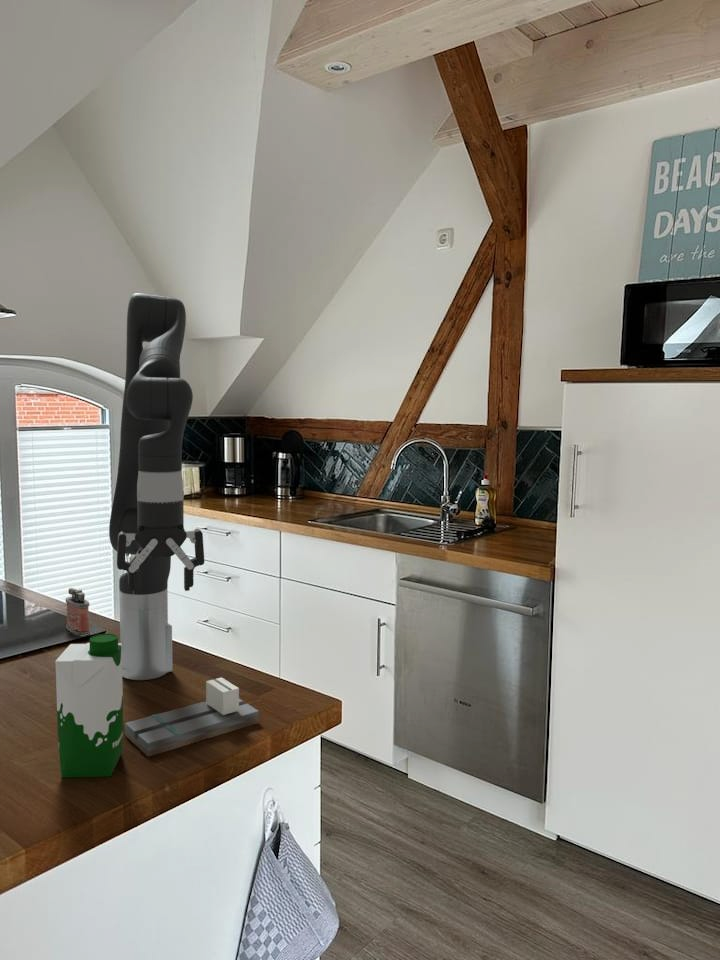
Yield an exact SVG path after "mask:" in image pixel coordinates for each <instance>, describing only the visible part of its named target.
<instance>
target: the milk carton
mask: <svg viewBox="0 0 720 960" xmlns="http://www.w3.org/2000/svg"><path fill="white" fill-rule="evenodd" d="M54 662H55V663H54V664H55V684H56V688H55V690H56V715H57V716H56V720H57V721H56V723H57V744H58V746H57V747H58V753H59V754H58V755H59V765H60V766H59V767H60V773H61V777H60V778H65V779H67V778H101V777H102V778H103V777H104V778H105V777H106V778H109V777H112V775H113V773H114V770H115V768H116V766H117V764H118V762H119V760H120V758H121V755H122V753H123V752H122V751H123V750H122V749H123V738H124V737H123V736H124V695H123V687H124V686H123V676H122V643H120V642H119V637H118V635H117V634H113V633H101V634H96V635H95V634H94V635H93V636H91V637H90V638H89V642H86V643H70V644H69V645H68V646H67V647H66V649H65V650H64V651H63V652H62V653H61V654H60V655H59V657H57V658H56V660H55V661H54Z"/></svg>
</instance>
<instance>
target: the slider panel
mask: <svg viewBox="0 0 720 960" xmlns="http://www.w3.org/2000/svg"><path fill="white" fill-rule="evenodd" d="M259 712H260V711H259V710H258V709H257V708H255V707H253V706H252V705H250V704H249V703H244V700H242V699H241V698H239V711H236V712H232V713H229V714H226V715H222V714H221V713H219V712H217V710H215V709H214V708H212V707H211V706H209V705H208V704H207V703H206V700H204V701H201V702H197V703H194V704H191V705H186V706H184V707H183V706H182V707H180V708H179V707H178V708H175V709H172V710H169V711H165V712H160V713H154V714H151V715H149V716H146V717H142V718H138V719H134V720H131V721H128V722H125V723H124V728H125V729H124V730H125V731H124V732H125V733H124V734H125V737H126V738H127V739H128V740H129V739H130V742H132V743H133V744H134V745H135V746H136V747H137V748H138V749H139V750H140V751H141V752H142V753H143V754H144V755H145V756H146V757H148V758H149V757H152V756H155V755H159V754H162V753H165V752H168V751H172V750H176V749H178V748H182V747H184V746H189V745H191V743H192V744H194V742H195V743H197V742H200V741H201V740H202V741H204V739H205V740H208V739H211V738H214V737H218V736H221V735H224V734H228V733H231V732H234V731H237V730H241V729H244V728H247V727H250V726H253V725H256V724H260V723H259V722H260V721H259V716H260V715H259ZM207 738H208V739H207Z"/></svg>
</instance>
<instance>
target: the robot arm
mask: <svg viewBox="0 0 720 960" xmlns="http://www.w3.org/2000/svg"><path fill="white" fill-rule="evenodd" d="M126 315H127V316H126V351H125V352H126V359H125V360H126V364H125V365H126V366H125V381H124V390H123V398H122V407H121V409H122V410H121V419H120V420H121V422H120V436H119V437H120V438H119V439H120V441H119V442H120V443H119V452H118V453H119V457H118V465H117V475H116V482H115V483H116V484H115V488H114V489H115V490H114V495H113V500H112V506H111V512H110V517H109V518H110V519H109V525H108V526H109V529H108V531H109V533H108V535H109V542H110V544H111V547H112V548H113V550H114V551H115V552H117V553H116V567H117V569H118V570H120V571H121V570H122V571H126V572H124V573H122V574H121V575H120V577H119V581H118V589H119V591H118V592H119V635H120V636H119V638H120V639H119V640H120V641H119V643H122V678H124V679H127V680H132V681H145V680H146V681H147V680H154V679H157V678H160V677H162V676H165V675H166V674H168V673H170V672H173V626H172V625H171V624H170V623H169V614H168V613H169V610H168V609H169V608H168V607H169V604H168V597H169V596H168V583H169V576H170V573H171V564H172V557H173V556H174V555H175V556H176V557H177V558H178V559H179V560H180V561H181V562H182V563H183V565H184V567H183V587H184V588H183V589H184V591H185V592H187V591H188V592H189V591H190V590H191V589H190V588H193V586H194V572H195V571H194V570H195V568H196V567H198V566H203V565H204V564H205V552H204V551H205V549H204V548H205V547H204V534H203V532H202V530H201V529H200V528H195V529H194V530H186V529H185V527H184V524H185V523H184V514H185V513H184V506H185V505H184V496H185V491H184V478H183V457H182V455H183V439H184V434H185V429H186V425H187V421H188V419H189V416H190V412H191V408H192V405H193V398H194V395H193V390H192V387H191V386H190V383H188V381H187V380H185V379H183V378H181V362H180V359H181V355H182V349H183V345H184V338H185V334H186V333H185V332H186V326H187V325H186V324H187V323H186V321H187V314H186V308H185V305H184V302H182V301H181V300H180V299H178V298H175V297H170V296H165V295H164V296H162V295H155V294H149V293H141V292H137V293H133V294H132V295H131V296H130V299H129V301H128V306H127V313H126ZM144 342H145V343H146V342H147V344H146V345H145V347H143V343H144ZM187 538H188V539H189V541H190V543H191V544H194V555H195V556H194V557H193V558H189V556H188V555H187V554H186V552H185V551H184V550H183V549H182V548H181V547H182V545H183V544H184V542H186V540H187ZM126 554H127V555H133V556H134V557H133V558H132V559H131V561H130V562H129V561H126Z"/></svg>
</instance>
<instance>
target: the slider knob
mask: <svg viewBox="0 0 720 960" xmlns="http://www.w3.org/2000/svg"><path fill="white" fill-rule="evenodd" d="M205 687H206V688H205V689H206V690H205V694H206V695H205V697H206V699H205V701H206V703H207V704H208V705H209V706H211V707H212V708H214V709H215V710H217V712H219V713H221V714H222V715H226V714H229V713H232V712H236V711H239V699H240V688H239V687H238V686H236V685H234V684H232V683H231V682H230V681H229V680H226V678H223V677H221V676H220V677H219V678H218V677H217V678H214V679H209V680H206V682H205Z"/></svg>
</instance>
